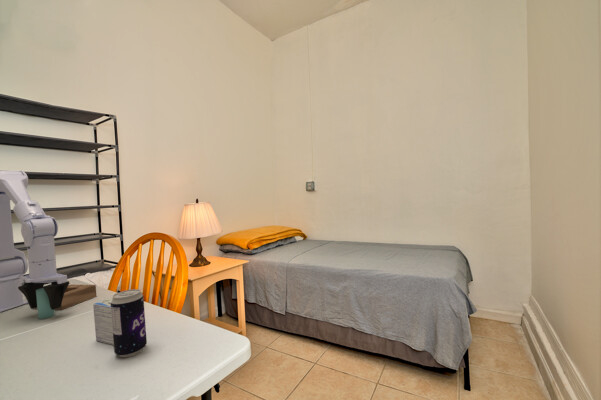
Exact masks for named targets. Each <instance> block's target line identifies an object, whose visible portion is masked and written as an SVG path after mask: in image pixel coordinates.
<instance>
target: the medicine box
mask: <svg viewBox="0 0 601 400" xmlns="http://www.w3.org/2000/svg"><path fill="white" fill-rule="evenodd" d="M112 299H113V296H111V297H109V298H105V299H103V300H100V301H97V302H95V303H93V319H94V329H95V330H94V332H95V340H96V341H97V342H100V343H105V344H108V345H113V346H114V341H113V327H112V314H111V301H112Z"/></svg>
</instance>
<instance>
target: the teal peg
mask: <svg viewBox="0 0 601 400" xmlns="http://www.w3.org/2000/svg"><path fill="white" fill-rule="evenodd" d="M36 297H37V309H36V310H37V319H38V320H45V319H48V318H52V317H54V316H55V315H56V314H55V311H56V310H51V308H50V304H49V298H48V296H47V293H46V292H45V290H44V289H43V288H40V289H37V290H36Z"/></svg>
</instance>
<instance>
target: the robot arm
mask: <svg viewBox="0 0 601 400" xmlns="http://www.w3.org/2000/svg"><path fill="white" fill-rule="evenodd" d="M28 185H29V177H28V175H27V173H26V172H25V171H24V170H0V313H1V312H5V311H8V310H11V309H14V308H17V307H20V306H23V305H26V304H28V305H29V308H30V309H31V310H35V308H37V297H36V290H37V289H40V288H43V289H44V290H45V292H46V293H47V296H48V298H49V304H50V308H51V310H54V309H57V308H60V307H61V304H62V300H63V296H64V293H65V291H66V289H67V287H68V285H70V281H69V280H68V275H67V274H61V273H57V271H58V269H57V261H56V247H55V246H56V245H55V237H56V236H57V235H58V231H59V225H58V222H57V220H56V218H55V217H53V216H51V215H47V214H46V213H45V211H44V209H43V208H42V207H41V205H40V203H39V202H38V201H36V200H32V198H31V196H30V194H29V192H28V190H27V188H28ZM11 201H12V203H13V204H14V206H13V213H14V214H15V216H16V218H17V220H18V222H19V223H20V224H21V226H20V229H21V230H20V233H21V236H22V239H23V242H24V243H23V244H24V246H25V247H26V250H27V257H26V254H25V252H24V251H23V250H19V249H18V248H15V242H14V232H13V231H14V230H13V221H12V210H11V209H12V208H11ZM27 272H28V274H27V275H25V274H26V273H27ZM22 284H23V285H22ZM45 284H47V285H45ZM23 297H25V299H26V300H24V298H23Z"/></svg>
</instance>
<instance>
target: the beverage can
mask: <svg viewBox="0 0 601 400" xmlns="http://www.w3.org/2000/svg"><path fill="white" fill-rule="evenodd" d="M112 297H113V299H112V301H111V314H112V327H113V341H114V345H113V350H114V351H113V352H114V354H115V355H116V356H119V357H120V358H129V357H133V356H135V355H138V354H139V353H141V352H142V351H143V349H144V348H145V346H146V345H147V344H148V343H147V342H148V340H147V328H146V314H145V302H144V301H145V300H144V294H142V291H141V289H139V288H138V289H135V288H134V289H127V290H123V291H119V292H116V293H115V294H113V295H112Z"/></svg>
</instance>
